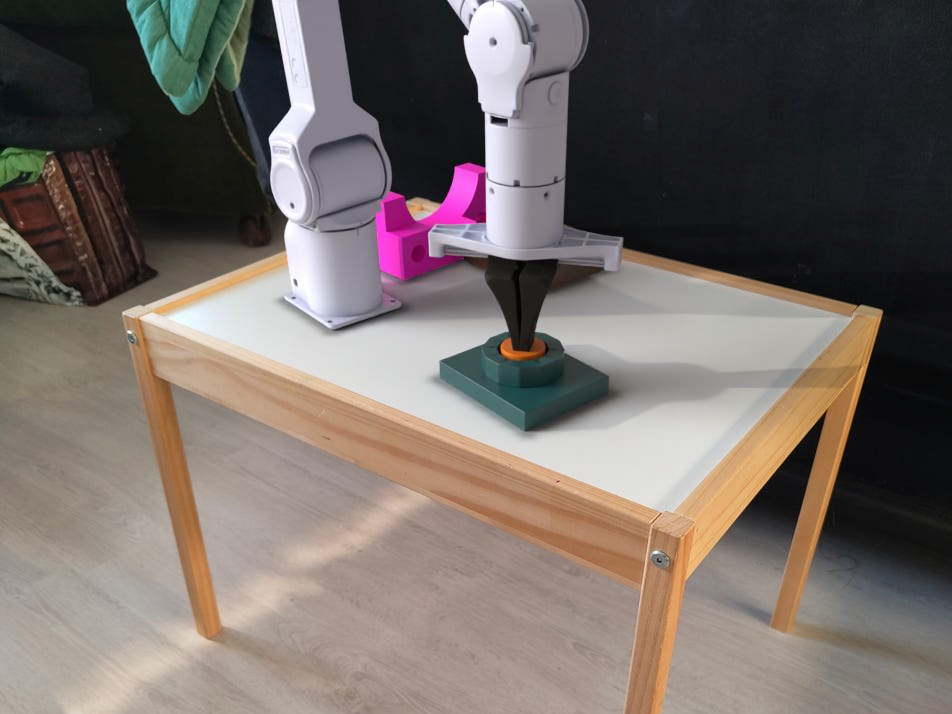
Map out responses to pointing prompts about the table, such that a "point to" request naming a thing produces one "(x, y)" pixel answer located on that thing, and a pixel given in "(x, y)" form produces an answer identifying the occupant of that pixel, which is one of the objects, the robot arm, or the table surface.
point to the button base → (524, 381)
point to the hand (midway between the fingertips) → (523, 345)
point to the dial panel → (563, 276)
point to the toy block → (428, 224)
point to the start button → (535, 351)
